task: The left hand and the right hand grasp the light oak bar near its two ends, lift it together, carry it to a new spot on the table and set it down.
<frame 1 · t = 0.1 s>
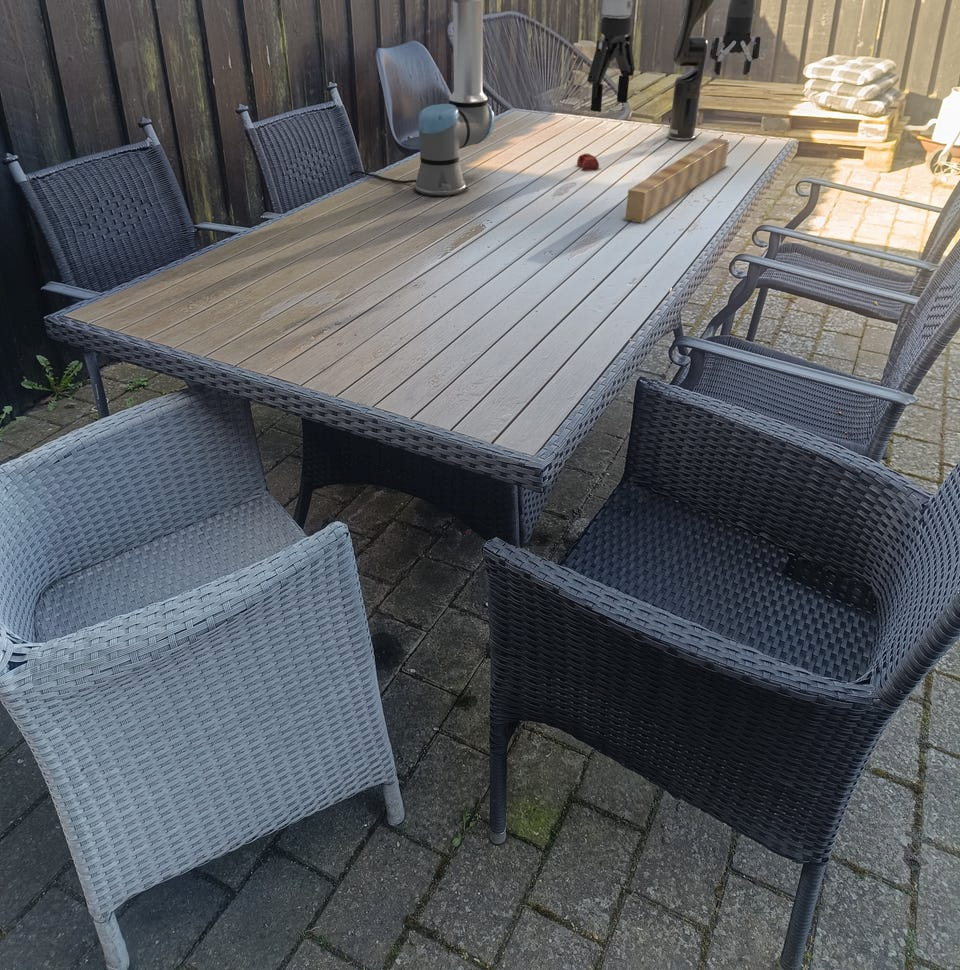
left hand: (609, 106, 226), 28 cm above the table, tool pointing down, fingers open, 13 cm apart
right hand: (731, 74, 258), 29 cm above the table, tool pointing down, fingers open, 8 cm apart
red rounded lump: (587, 167, 279), on the table
bar: (679, 190, 258), on the table
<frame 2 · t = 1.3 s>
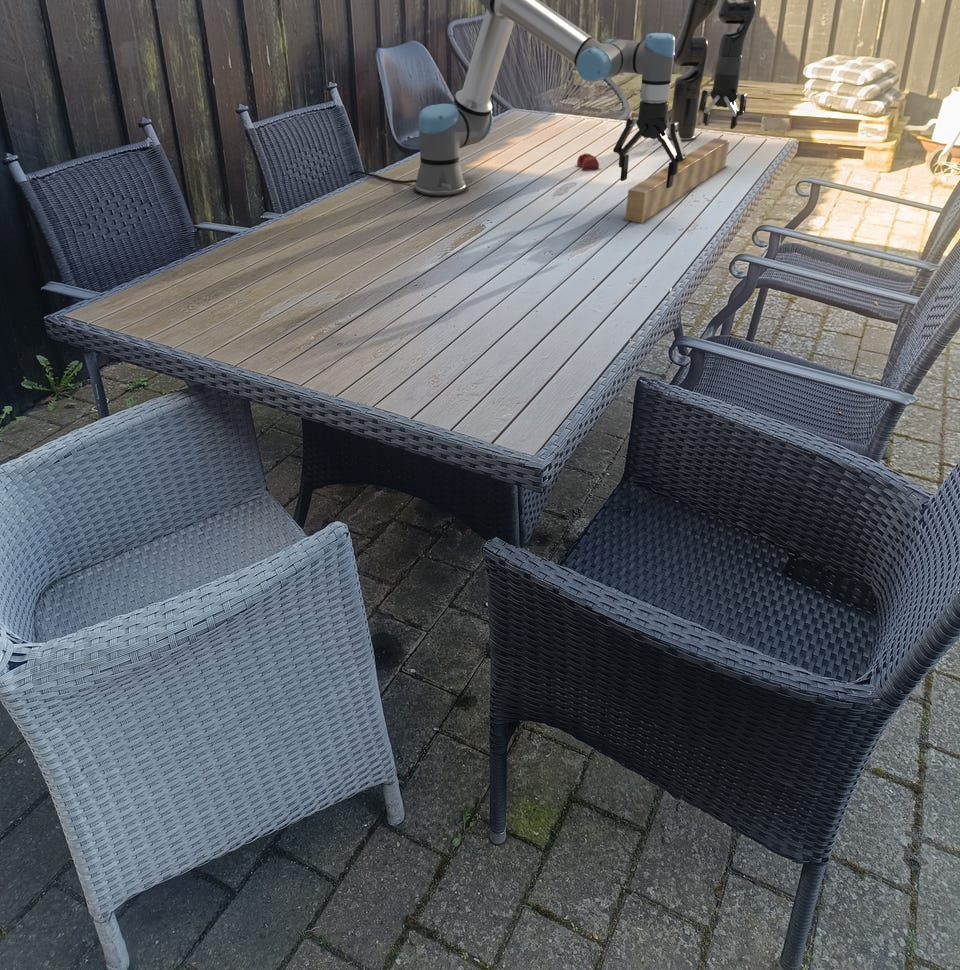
left hand: (646, 183, 233), 9 cm above the table, tool pointing down, fingers open, 13 cm apart
right hand: (719, 127, 269), 13 cm above the table, tool pointing down, fingers open, 8 cm apart
nothing on the table moved.
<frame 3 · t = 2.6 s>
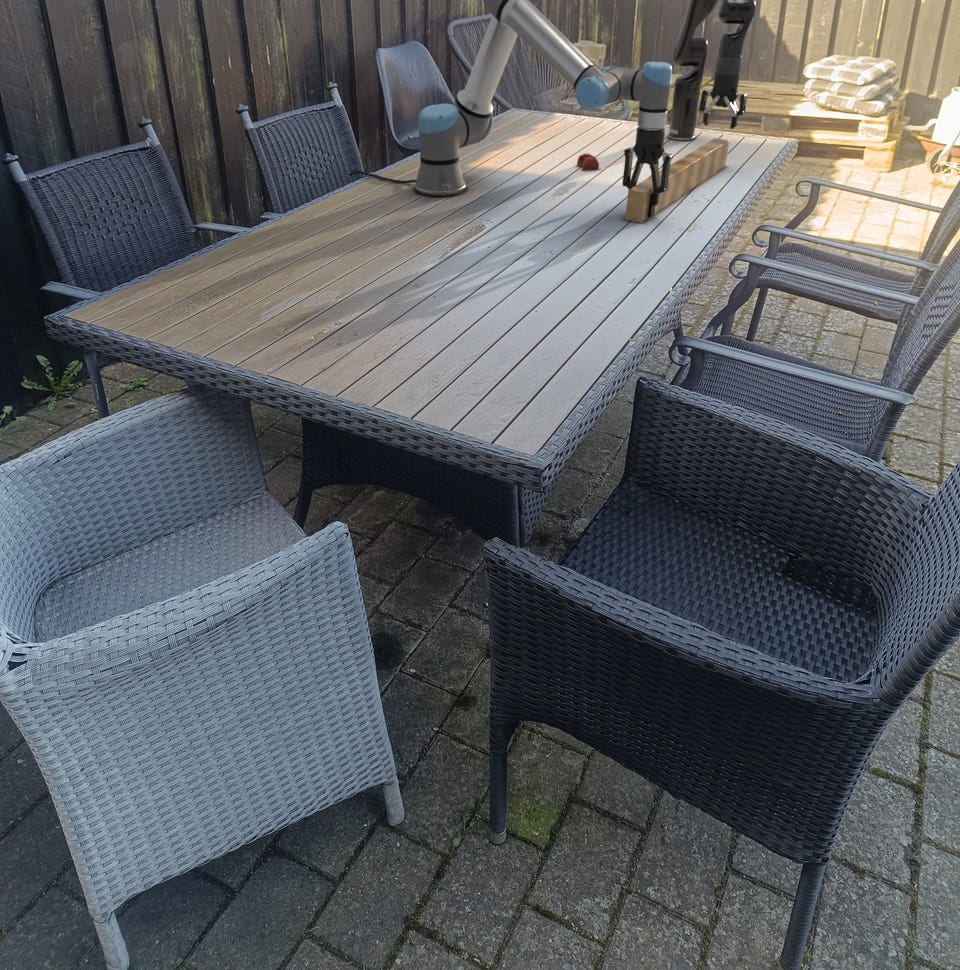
left hand: (641, 214, 238), 1 cm above the table, tool pointing down, fingers closed on bar, 5 cm apart
right hand: (719, 127, 269), 13 cm above the table, tool pointing down, fingers open, 8 cm apart
bar: (679, 190, 258), on the table, touching left hand
everything else where it was.
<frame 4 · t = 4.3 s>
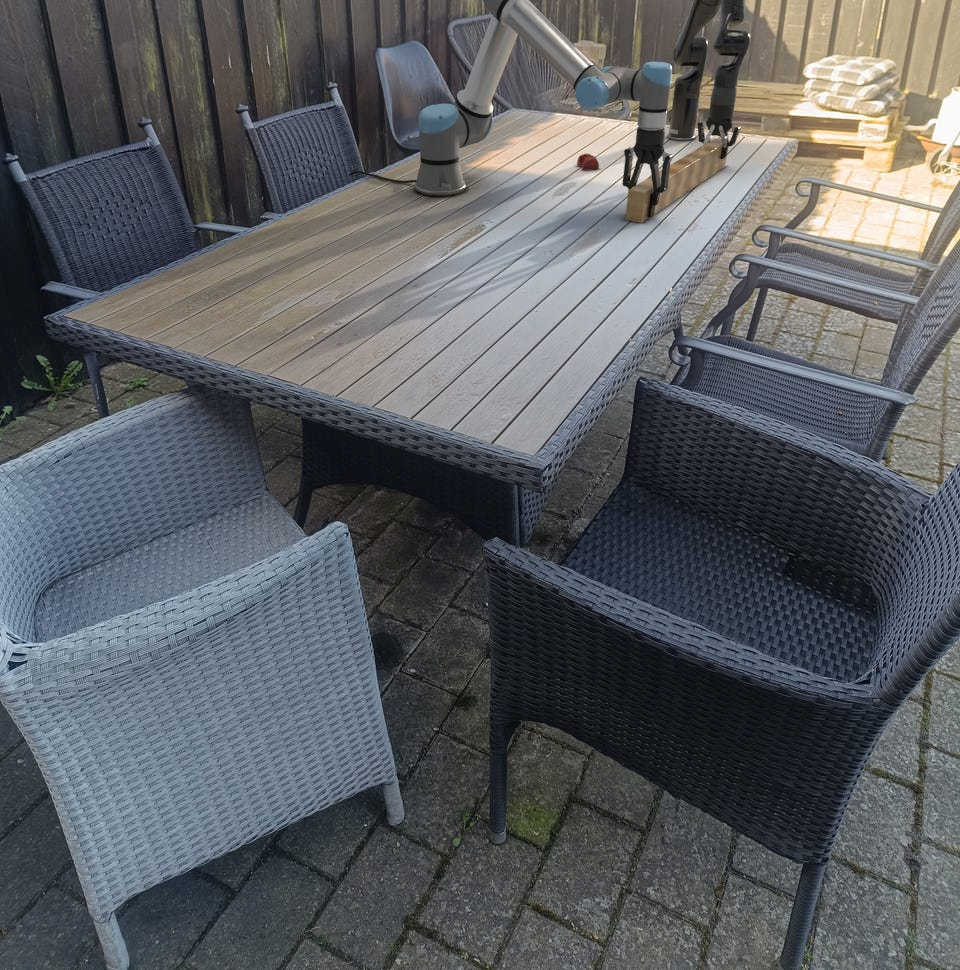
left hand: (641, 214, 238), 1 cm above the table, tool pointing down, fingers closed on bar, 5 cm apart
right hand: (714, 157, 275), 4 cm above the table, tool pointing down, fingers closed on bar, 5 cm apart
bar: (679, 190, 258), on the table, touching left hand, right hand
everything else where it was.
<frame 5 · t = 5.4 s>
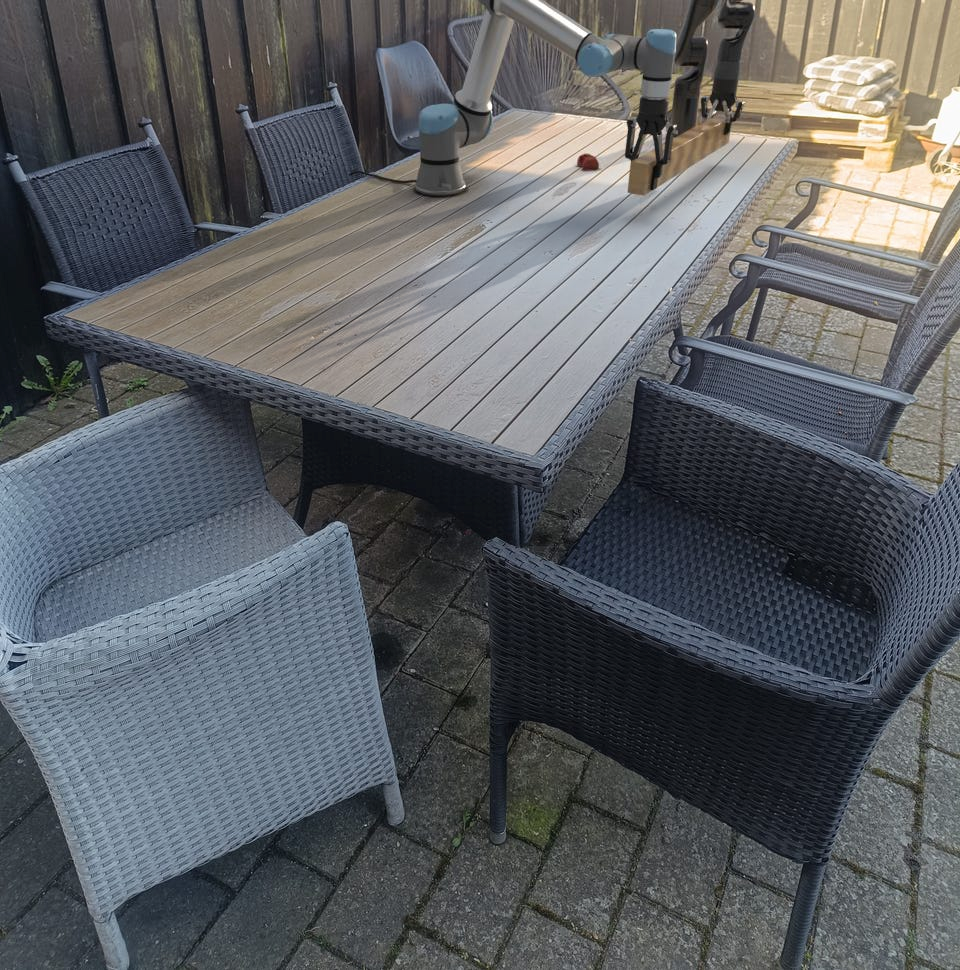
left hand: (644, 187, 233), 8 cm above the table, tool pointing down, fingers closed on bar, 5 cm apart
right hand: (717, 133, 271), 11 cm above the table, tool pointing down, fingers closed on bar, 5 cm apart
bar: (682, 165, 253), point 7 cm above the table, touching left hand, right hand
everything else where it was.
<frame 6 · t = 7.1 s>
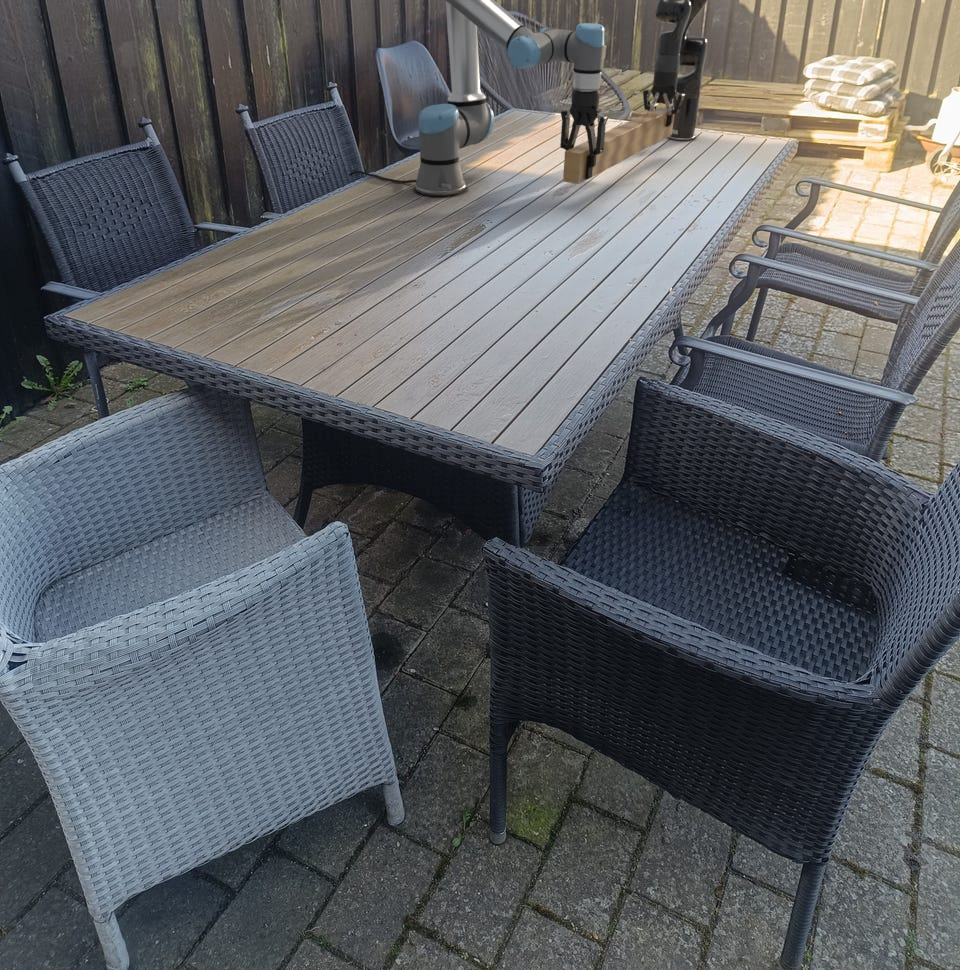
left hand: (579, 176, 242), 8 cm above the table, tool pointing down, fingers closed on bar, 5 cm apart
right hand: (659, 125, 279), 11 cm above the table, tool pointing down, fingers closed on bar, 5 cm apart
bar: (621, 156, 261), point 8 cm above the table, touching left hand, right hand
everything else where it was.
when the left hand's fingers open (2 cm above the table, at t = 8.4 s): bar drops 2 cm, on the table.
when the right hand's fingers open (5 cm above the table, at t = 8.6 s): bar stays where it is, on the table.
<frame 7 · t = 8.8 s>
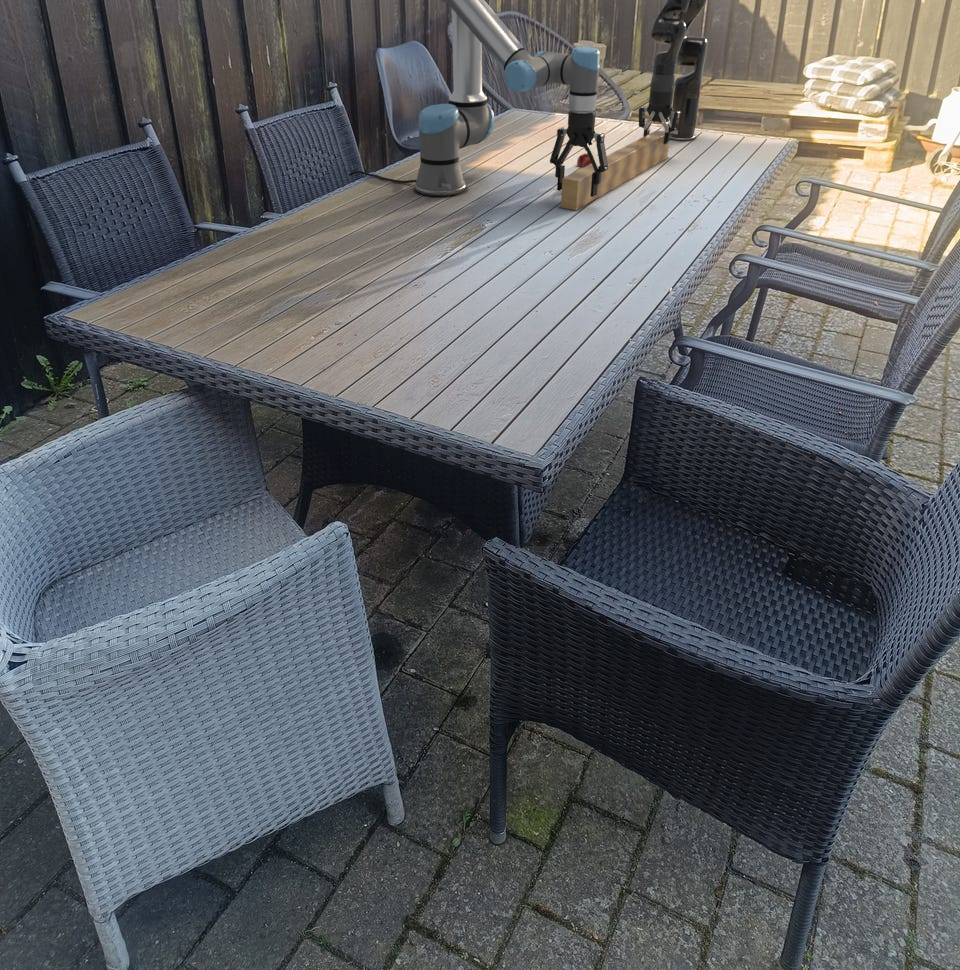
left hand: (576, 192, 244), 4 cm above the table, tool pointing down, fingers open, 10 cm apart
right hand: (655, 142, 282), 6 cm above the table, tool pointing down, fingers open, 6 cm apart
bar: (618, 180, 266), on the table
everything else where it was.
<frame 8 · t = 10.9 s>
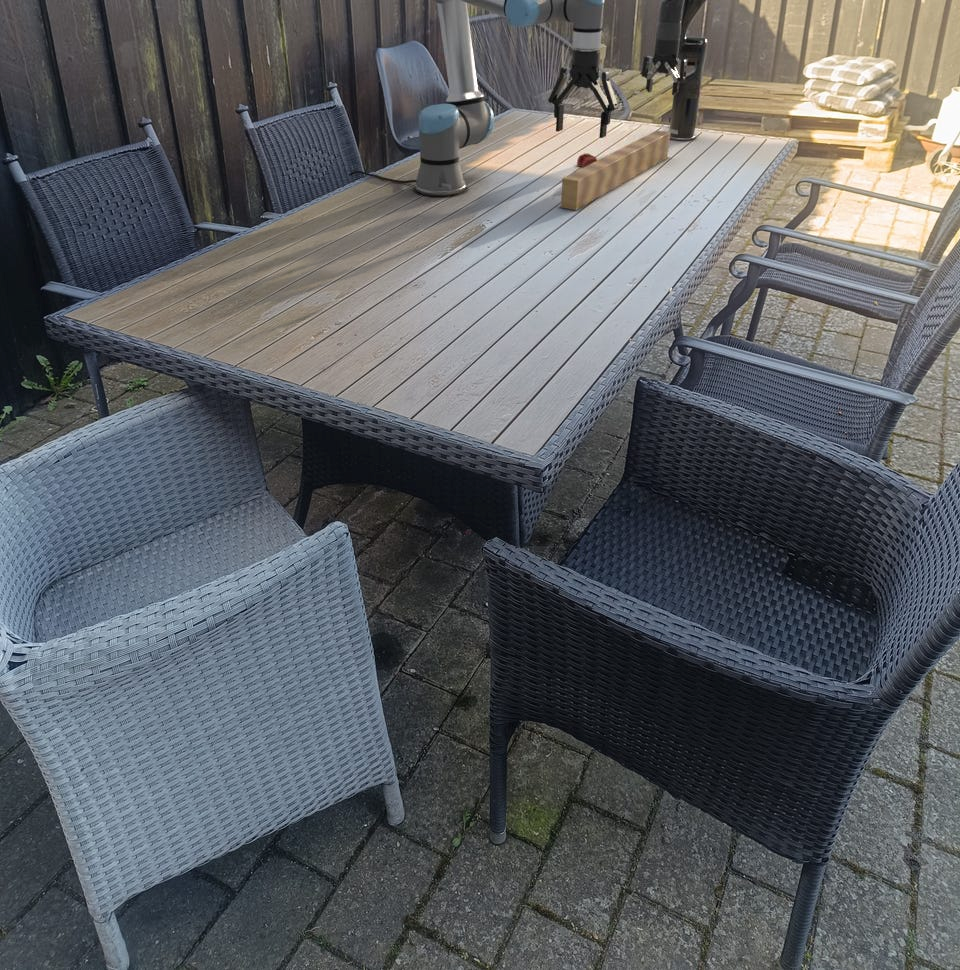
left hand: (580, 133, 235), 20 cm above the table, tool pointing down, fingers open, 13 cm apart
right hand: (661, 93, 273), 21 cm above the table, tool pointing down, fingers open, 8 cm apart
nothing on the table moved.
at the end: bar inside the target area (0.7 cm from its centre), on the table; bar tilted 0°; bar never tilted more than 2° during the clip; both hands held the bar at the same time; the left hand is holding nothing; the right hand is holding nothing; bar at rest at the end (0.0 cm/s) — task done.
